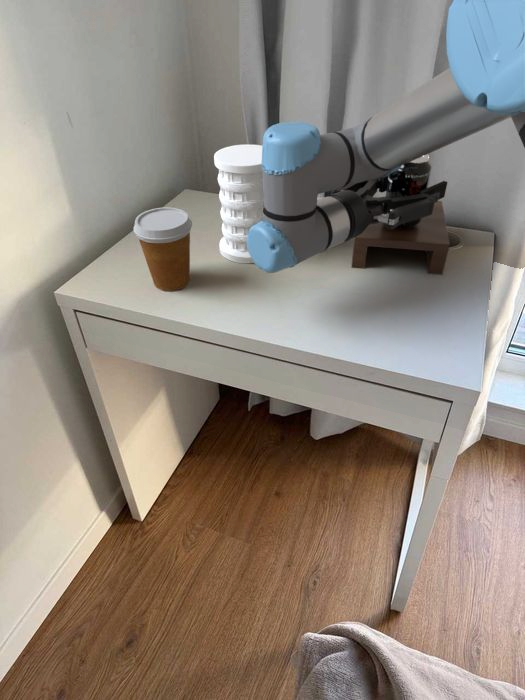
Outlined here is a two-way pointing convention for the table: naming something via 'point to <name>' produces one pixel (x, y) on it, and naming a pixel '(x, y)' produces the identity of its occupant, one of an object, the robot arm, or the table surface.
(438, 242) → the shelf
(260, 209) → the decorative container
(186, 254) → the disposable coffee cup
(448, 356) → the table surface
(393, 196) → the beverage can
